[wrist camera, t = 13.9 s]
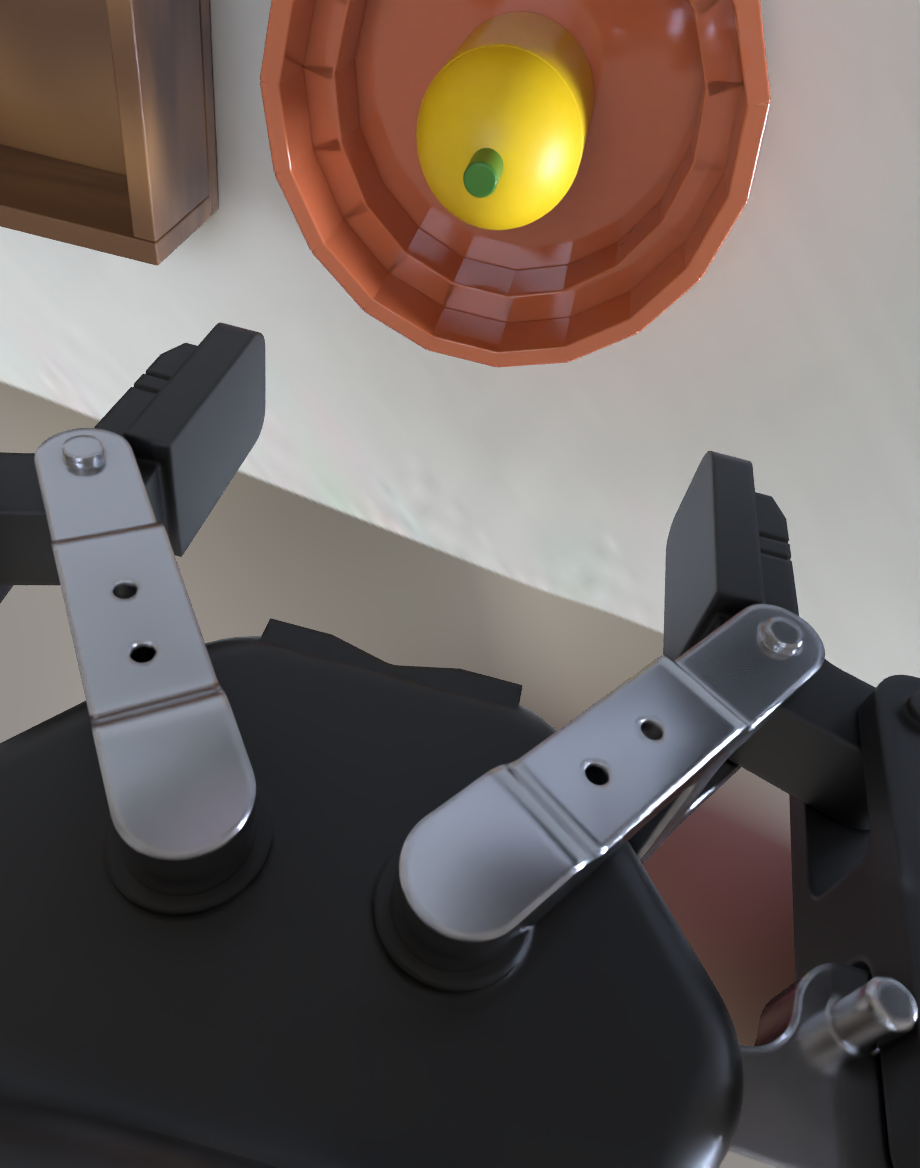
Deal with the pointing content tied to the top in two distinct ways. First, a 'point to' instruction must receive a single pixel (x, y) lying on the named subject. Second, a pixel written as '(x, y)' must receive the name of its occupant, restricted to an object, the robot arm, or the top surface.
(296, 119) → the bowl
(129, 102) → the wooden tray
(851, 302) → the top surface
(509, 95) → the pepper
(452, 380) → the top surface
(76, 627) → the robot arm
